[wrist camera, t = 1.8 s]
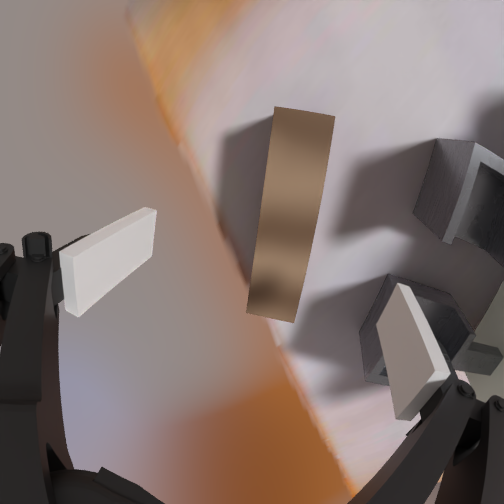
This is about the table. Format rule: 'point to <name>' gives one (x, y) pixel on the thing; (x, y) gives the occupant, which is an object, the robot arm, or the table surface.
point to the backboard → (497, 335)
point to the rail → (289, 210)
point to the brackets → (446, 228)
